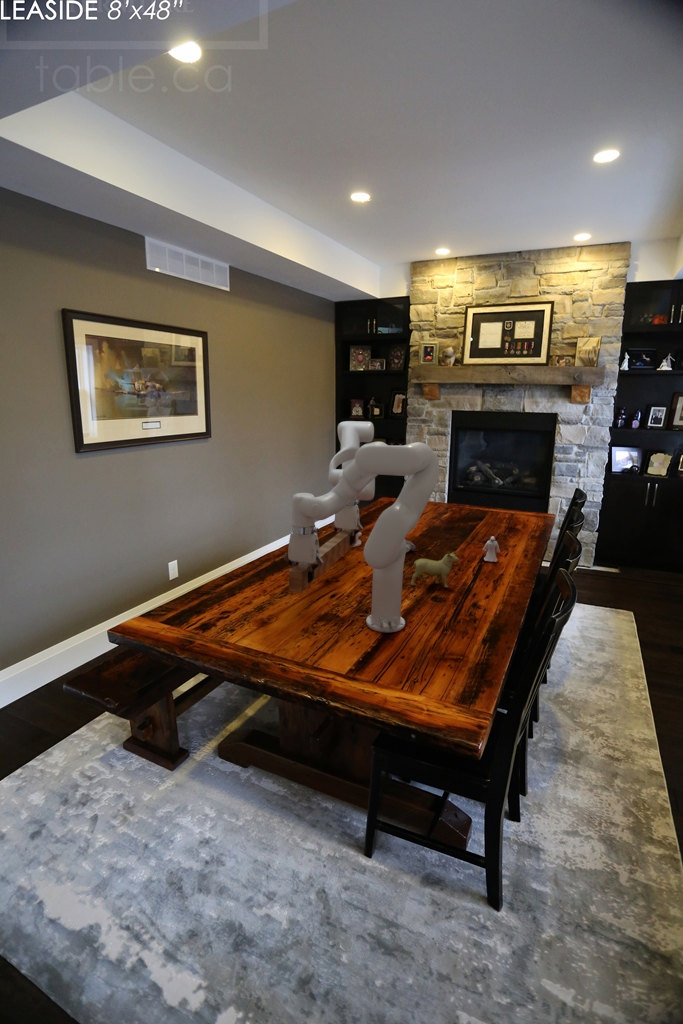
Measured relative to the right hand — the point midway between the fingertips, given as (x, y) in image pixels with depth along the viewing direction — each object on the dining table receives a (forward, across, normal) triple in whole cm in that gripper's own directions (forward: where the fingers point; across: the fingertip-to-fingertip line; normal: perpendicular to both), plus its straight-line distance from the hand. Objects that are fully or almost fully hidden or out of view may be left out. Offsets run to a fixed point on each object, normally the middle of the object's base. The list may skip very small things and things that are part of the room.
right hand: (303, 579), depth 173 cm
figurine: (+9, -59, -75) cm, 96 cm away
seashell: (+10, -21, -73) cm, 76 cm away
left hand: (0, 0, -46) cm, 46 cm away
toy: (+10, -40, -35) cm, 54 cm away
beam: (+2, 0, -23) cm, 23 cm away
